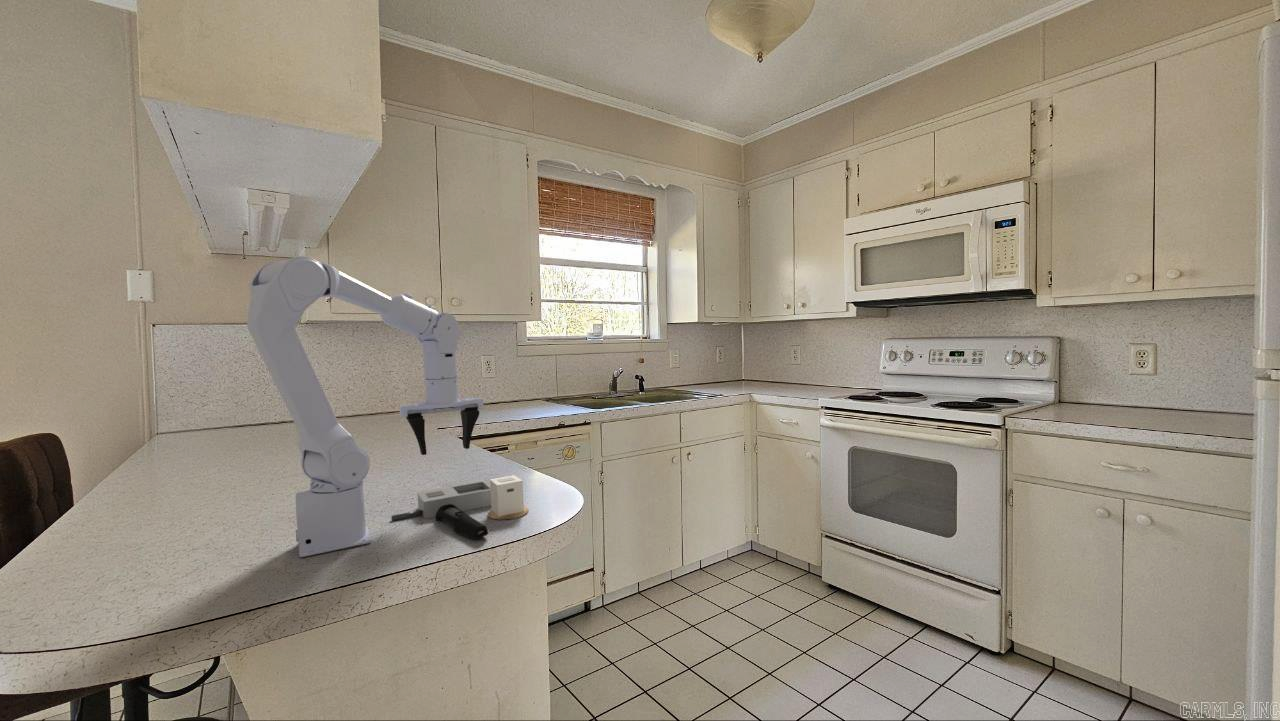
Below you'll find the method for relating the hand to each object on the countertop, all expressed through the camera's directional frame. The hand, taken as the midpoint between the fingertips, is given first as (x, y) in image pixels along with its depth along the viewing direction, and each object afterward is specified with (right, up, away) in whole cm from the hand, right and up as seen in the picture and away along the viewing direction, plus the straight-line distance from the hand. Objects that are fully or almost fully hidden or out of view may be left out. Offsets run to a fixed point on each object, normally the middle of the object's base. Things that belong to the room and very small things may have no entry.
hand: (445, 450), depth 101 cm
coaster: (+13, -10, -5) cm, 17 cm away
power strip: (+2, -10, 0) cm, 11 cm away
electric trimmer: (+7, -11, -11) cm, 17 cm away
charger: (+13, -10, -4) cm, 17 cm away
